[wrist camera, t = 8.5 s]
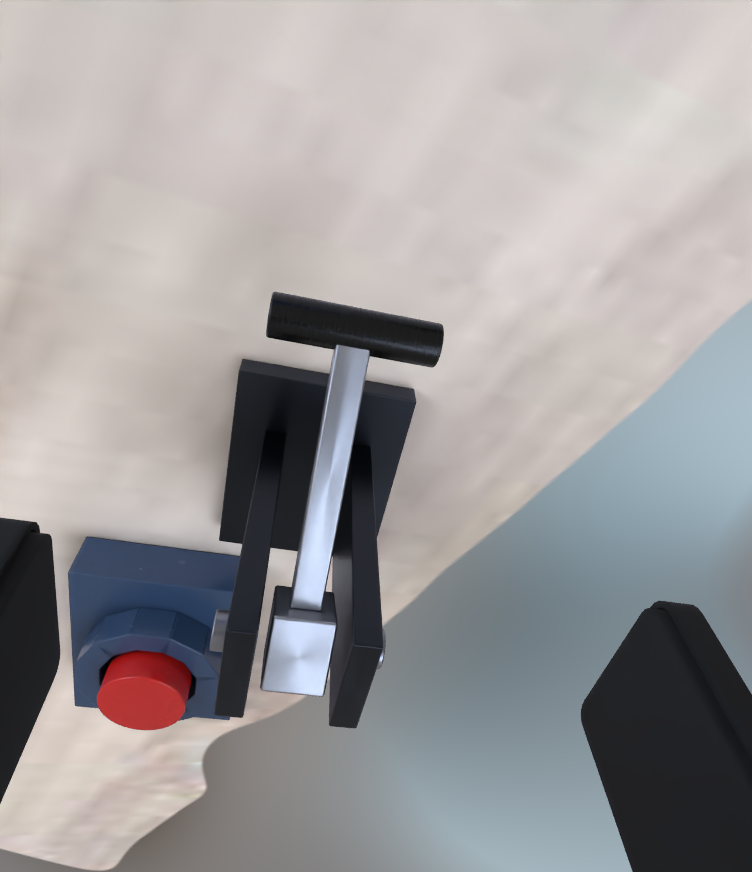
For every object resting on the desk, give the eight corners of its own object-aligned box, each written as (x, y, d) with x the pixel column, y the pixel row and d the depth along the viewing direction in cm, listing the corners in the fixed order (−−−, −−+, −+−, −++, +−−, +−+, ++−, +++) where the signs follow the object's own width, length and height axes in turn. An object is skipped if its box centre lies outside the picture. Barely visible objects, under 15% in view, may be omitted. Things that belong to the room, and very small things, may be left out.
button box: (86, 535, 34) (53, 599, 30) (255, 558, 35) (245, 621, 31) (89, 667, 39) (62, 735, 36) (236, 682, 41) (224, 749, 37)
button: (106, 644, 32) (95, 673, 31) (194, 653, 33) (187, 683, 31) (107, 697, 35) (96, 726, 33) (189, 704, 35) (182, 734, 34)
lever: (274, 291, 21) (271, 291, 19) (434, 322, 22) (450, 326, 19) (219, 647, 23) (210, 686, 21) (364, 663, 24) (371, 702, 22)
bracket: (242, 358, 28) (180, 557, 18) (414, 388, 30) (453, 592, 19) (222, 525, 34) (165, 758, 23) (369, 545, 35) (380, 775, 24)
